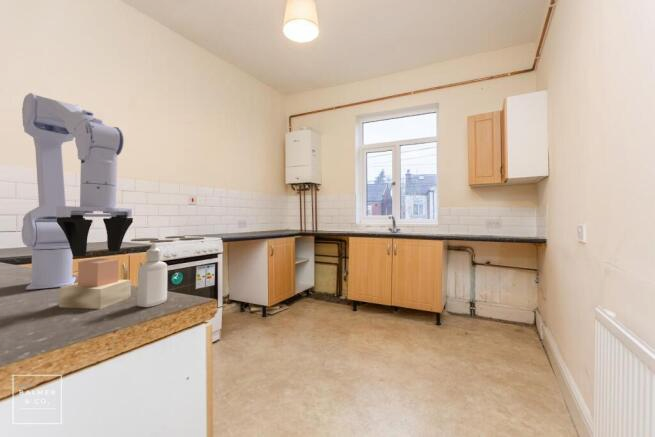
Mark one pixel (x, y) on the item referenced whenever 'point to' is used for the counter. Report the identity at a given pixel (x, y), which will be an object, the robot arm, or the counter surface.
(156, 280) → the eye dropper bottle
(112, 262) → the terracotta cube
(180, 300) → the counter surface
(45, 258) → the robot arm
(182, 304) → the counter surface
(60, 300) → the birch block
